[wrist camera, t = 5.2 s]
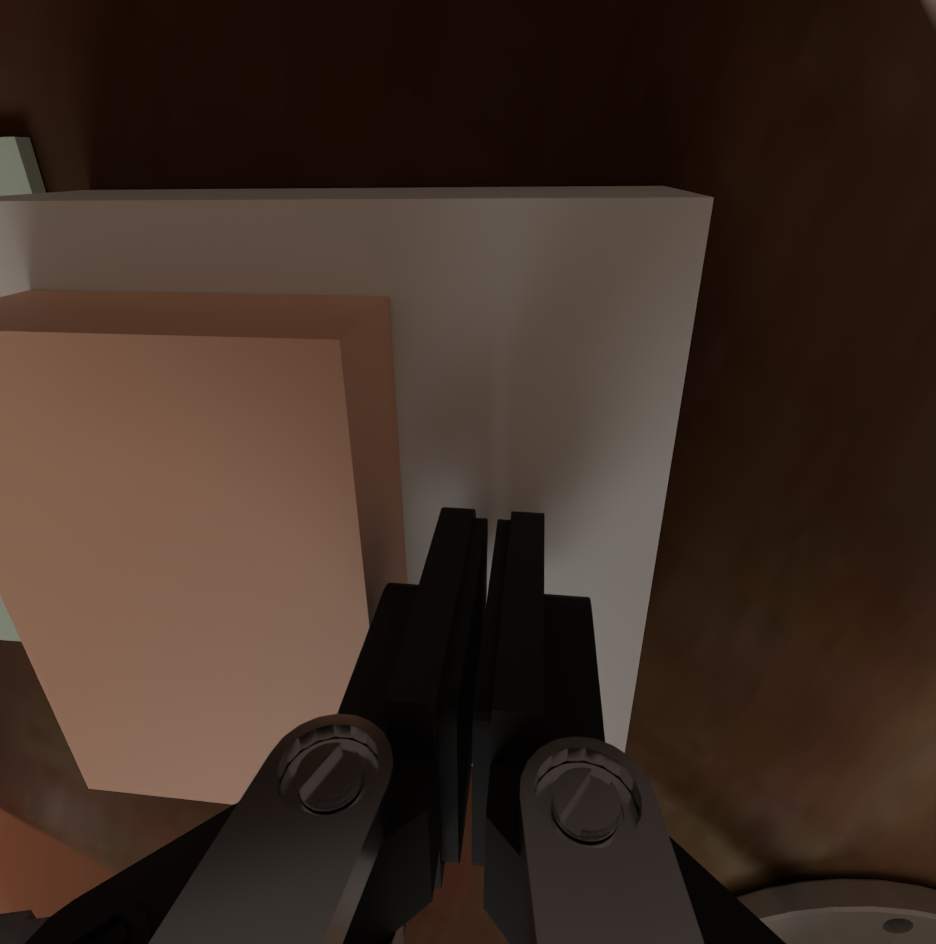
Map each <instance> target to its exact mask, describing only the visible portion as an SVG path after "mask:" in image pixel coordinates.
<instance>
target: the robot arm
mask: <svg viewBox="0 0 936 944" xmlns="http://www.w3.org/2000/svg"><path fill="white" fill-rule="evenodd" d="M544 534H545V514H544V513H534V512H517V511H511V519H510V520H504V519H498V521H497V528H496V535H495V543H494V550H493V558H492V565H491V573H490V580H489V588H488V595H487V546H488V519H487V518H476V511H475V509H467V508H450V507H442V508H441V511H440V514H439V518H438V521H437V524H436V528H435V531H434V535H433V538H432V541H431V545H430V548H429V551H428V555H427V558H426V561H425V565H424V568H423V572H422V575H421V578H420V582H419V585H417V584H403V583H388V584H387V585H386V586H385V588H384V590H383V593H382V595H381V598H380V601H379V603H378V606H377V609H376V611H375V614H374V617H373V619H372V622H371V625H370V627H369V630H368V633H367V635H366V638H365V641H364V643H363V646H362V649H361V651H360V654H359V657H358V659H357V662H356V665H355V667H354V670H353V673H352V675H351V678H350V681H349V684H348V686H347V689H346V692H345V694H344V697H343V700H342V702H341V705H340V708H339V710H338V713H337V714H332V715H326V716H320V717H317V718H314V719H312V720H310V721H307V722H305V723H303V724H300V725H299V726H297V727H296V728H295V729H293V730H292V731H291V732H289V733H288V734H286V735H285V736H284V737H283V738H282V739H281V740H280V741H279V743H278V744H277V745H276V746H275V747H274V749H273V750H272V751H271V752H270V754H269V755H268V757H267V758H266V760H265V762H264V763H263V765H262V766H261V768H260V769H259V771H258V773H257V774H256V776H255V777H254V779H253V780H252V782H251V784H250V785H249V787H248V788H247V790H246V791H245V793H244V795H243V796H242V798H241V799H240V801H239V802H237V803H236V804H234V805H232V806H231V807H229V808H227V809H226V810H224V811H222V812H221V813H219V814H217V815H216V816H214V817H212V818H211V819H209V820H207V821H206V822H204V823H202V824H200V825H199V826H197V827H195V828H194V829H192V830H190V831H189V832H187V833H185V834H184V835H182V836H180V837H179V838H177V839H175V840H174V841H172V842H170V843H169V844H167V845H165V846H164V847H162V848H160V849H158V850H157V851H155V852H153V853H152V854H150V855H148V856H147V857H145V858H143V859H142V860H140V861H138V862H137V863H135V864H133V865H132V866H130V867H128V868H127V869H125V870H123V871H121V872H120V873H118V874H116V875H115V876H113V877H111V878H110V879H108V880H106V881H105V882H103V883H101V884H100V885H98V886H96V887H95V888H93V889H91V890H90V891H88V892H87V893H85V894H83V895H81V896H79V897H78V898H76V899H74V900H73V901H72V902H70V903H69V904H67V905H66V906H65V907H63V908H62V909H61V910H59V911H58V912H57V913H55V914H54V915H52V916H51V917H45V918H38V919H36V917H35V916H34V914H33V913H32V911H31V910H27V911H19V912H11V913H4V914H0V944H403V940H404V936H405V930H406V924H407V922H408V921H409V920H410V919H411V918H413V917H414V916H415V915H416V914H417V913H419V912H420V911H421V910H422V909H423V908H425V907H426V906H427V905H428V904H429V903H431V902H432V898H433V891H434V888H439V889H441V887H442V880H443V873H444V866H445V862H450V863H459V862H460V857H461V850H462V842H463V834H464V826H465V818H466V809H467V801H468V793H469V785H470V777H471V768H472V865H475V866H484V867H485V868H484V909H485V910H486V912H487V913H488V915H489V916H490V917H491V919H492V920H493V921H494V923H495V924H496V925H497V927H498V928H499V929H500V931H501V932H502V933H503V935H504V936H505V938H506V939H507V940H508V942H509V943H510V944H936V890H935V889H931V888H927V887H923V886H920V885H915V884H907V883H900V882H893V881H886V880H875V879H843V878H840V879H826V880H811V881H801V882H795V883H789V884H784V885H778V886H773V887H767V888H764V889H761V890H757V891H754V892H751V893H748V894H744V895H741V896H738V897H735V896H734V895H733V894H732V893H731V892H729V891H728V890H727V889H726V888H725V887H724V886H723V885H722V884H721V883H720V882H719V881H717V880H716V879H715V878H714V877H713V876H712V875H711V874H710V873H709V872H708V871H707V870H705V869H704V868H703V867H702V866H701V865H700V864H699V863H698V862H697V861H696V860H695V859H694V858H692V857H691V856H690V855H689V854H688V853H687V852H686V851H685V850H684V849H683V848H682V847H680V846H679V845H678V844H677V843H676V842H675V841H674V840H673V839H672V838H671V837H670V836H669V835H668V832H667V829H666V826H665V823H664V820H663V817H662V814H661V811H660V808H659V804H658V801H657V798H656V795H655V792H654V790H653V788H652V786H651V784H650V782H649V780H648V778H647V776H646V774H645V773H644V771H643V770H642V769H641V768H640V767H639V766H638V765H637V764H636V763H635V761H634V760H633V759H632V758H631V757H630V756H628V755H627V754H625V753H624V752H622V751H621V750H619V749H618V748H616V747H615V746H613V745H611V744H608V743H605V734H604V724H603V714H602V705H601V695H600V685H599V675H598V665H597V655H596V645H595V635H594V625H593V615H592V606H591V600H590V598H589V597H581V596H568V595H554V594H544ZM486 601H487V603H486Z"/></svg>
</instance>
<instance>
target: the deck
mask: <svg viewBox="0 0 936 944" xmlns="http://www.w3.org/2000/svg"><path fill="white" fill-rule="evenodd" d="M713 200H714V197H710V196H706V195H702V194H697V193H693V192H689V191H684V190H680V189H676V188H671V187H667V186H563V187H426V188H289V189H152V190H80V191H65V192H50V193H35V194H21V195H6V196H0V297H3V296H7V295H11V294H15V293H19V292H23V291H27V290H50V291H107V292H163V293H219V294H276V295H332V296H388V297H389V305H390V320H391V336H392V351H393V367H394V382H395V398H396V413H397V429H398V444H399V460H400V475H401V491H402V506H403V522H404V537H405V553H406V569H407V584H417V585H419V582H420V578H421V575H422V572H423V568H424V565H425V561H426V558H427V555H428V551H429V548H430V545H431V541H432V538H433V535H434V531H435V528H436V524H437V521H438V518H439V514H440V511H441V508H442V507H450V508H467V509H475V511H476V518H487V519H488V546H487V595H488V588H489V580H490V573H491V565H492V558H493V550H494V543H495V535H496V528H497V521H498V519H504V520H510V519H511V511H517V512H534V513H544V514H545V534H544V594H554V595H568V596H581V597H589V598H590V600H591V606H592V615H593V625H594V635H595V645H596V655H597V665H598V675H599V685H600V695H601V705H602V714H603V724H604V734H605V743H608V744H611V745H613V746H615V747H616V748H618V749H619V750H621V751H622V752H624V753H625V747H626V741H627V735H628V728H629V722H630V716H631V710H632V704H633V697H634V691H635V685H636V679H637V672H638V666H639V660H640V654H641V648H642V641H643V635H644V629H645V623H646V616H647V610H648V604H649V598H650V592H651V585H652V579H653V573H654V567H655V561H656V554H657V548H658V542H659V536H660V529H661V523H662V517H663V511H664V505H665V498H666V492H667V486H668V480H669V473H670V467H671V461H672V455H673V449H674V442H675V436H676V430H677V424H678V418H679V411H680V405H681V399H682V393H683V386H684V380H685V374H686V368H687V362H688V355H689V349H690V343H691V337H692V330H693V324H694V318H695V312H696V306H697V299H698V293H699V287H700V281H701V275H702V268H703V262H704V256H705V250H706V243H707V237H708V231H709V225H710V219H711V212H712V206H713ZM486 603H487V601H486Z"/></svg>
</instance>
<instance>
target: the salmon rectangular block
mask: <svg viewBox="0 0 936 944" xmlns="http://www.w3.org/2000/svg"><path fill="white" fill-rule="evenodd" d="M388 583H403V584H407V569H406V553H405V537H404V522H403V506H402V491H401V475H400V460H399V444H398V429H397V413H396V398H395V382H394V367H393V351H392V336H391V320H390V305H389V297H388V296H332V295H276V294H219V293H163V292H107V291H50V290H27V291H23V292H19V293H15V294H11V295H7V296H3V297H0V596H1V598H2V600H3V602H4V604H5V606H6V609H7V611H8V613H9V615H10V617H11V620H12V622H13V624H14V626H15V628H16V631H17V633H18V635H19V637H20V639H21V642H22V644H23V646H24V648H25V650H26V653H27V655H28V657H29V659H30V661H31V664H32V666H33V668H34V670H35V672H36V674H37V677H38V679H39V681H40V683H41V685H42V688H43V690H44V692H45V694H46V696H47V699H48V701H49V703H50V705H51V707H52V710H53V712H54V714H55V716H56V718H57V721H58V723H59V725H60V727H61V729H62V732H63V734H64V736H65V738H66V740H67V742H68V745H69V747H70V749H71V751H72V753H73V756H74V758H75V760H76V762H77V764H78V767H79V769H80V771H81V773H82V775H83V778H84V780H85V782H86V784H87V786H88V788H89V789H98V790H107V791H116V792H125V793H134V794H144V795H153V796H162V797H171V798H180V799H189V800H198V801H207V802H216V803H225V804H236V803H237V802H239V801H240V799H241V798H242V796H243V795H244V793H245V791H246V790H247V788H248V787H249V785H250V784H251V782H252V780H253V779H254V777H255V776H256V774H257V773H258V771H259V769H260V768H261V766H262V765H263V763H264V762H265V760H266V758H267V757H268V755H269V754H270V752H271V751H272V750H273V749H274V747H275V746H276V745H277V744H278V743H279V741H280V740H281V739H282V738H283V737H284V736H285V735H286V734H288V733H289V732H291V731H292V730H293V729H295V728H296V727H297V726H299V725H300V724H303V723H305V722H307V721H310V720H312V719H314V718H317V717H320V716H326V715H332V714H337V713H338V710H339V708H340V705H341V702H342V700H343V697H344V694H345V692H346V689H347V686H348V684H349V681H350V678H351V675H352V673H353V670H354V667H355V665H356V662H357V659H358V657H359V654H360V651H361V649H362V646H363V643H364V641H365V638H366V635H367V633H368V630H369V627H370V625H371V622H372V619H373V617H374V614H375V611H376V609H377V606H378V603H379V601H380V598H381V595H382V593H383V590H384V588H385V586H386V585H387V584H388Z"/></svg>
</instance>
